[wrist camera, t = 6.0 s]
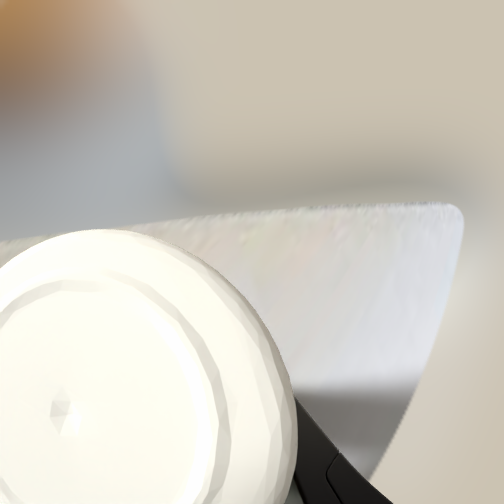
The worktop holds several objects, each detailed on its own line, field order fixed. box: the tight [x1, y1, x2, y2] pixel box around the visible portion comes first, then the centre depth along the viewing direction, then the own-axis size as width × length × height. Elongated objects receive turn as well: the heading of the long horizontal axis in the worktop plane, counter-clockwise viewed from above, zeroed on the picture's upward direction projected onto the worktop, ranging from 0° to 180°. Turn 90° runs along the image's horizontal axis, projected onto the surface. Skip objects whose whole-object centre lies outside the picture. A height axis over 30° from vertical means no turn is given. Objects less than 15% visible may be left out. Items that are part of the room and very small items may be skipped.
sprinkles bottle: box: [0, 229, 298, 504], centre depth 8 cm, size 5×5×13 cm
